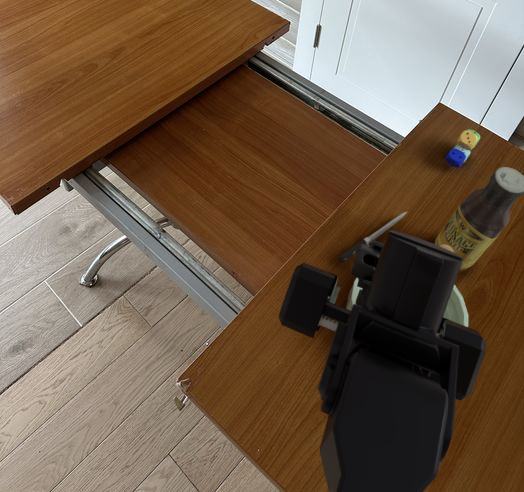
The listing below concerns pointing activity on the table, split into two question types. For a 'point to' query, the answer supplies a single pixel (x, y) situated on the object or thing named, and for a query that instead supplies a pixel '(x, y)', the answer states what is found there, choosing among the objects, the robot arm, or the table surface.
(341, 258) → the knife
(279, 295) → the table surface
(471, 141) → the dice
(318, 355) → the table surface
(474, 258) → the sauce bottle
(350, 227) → the table surface
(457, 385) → the robot arm
